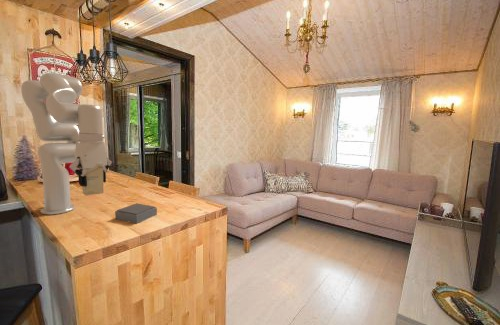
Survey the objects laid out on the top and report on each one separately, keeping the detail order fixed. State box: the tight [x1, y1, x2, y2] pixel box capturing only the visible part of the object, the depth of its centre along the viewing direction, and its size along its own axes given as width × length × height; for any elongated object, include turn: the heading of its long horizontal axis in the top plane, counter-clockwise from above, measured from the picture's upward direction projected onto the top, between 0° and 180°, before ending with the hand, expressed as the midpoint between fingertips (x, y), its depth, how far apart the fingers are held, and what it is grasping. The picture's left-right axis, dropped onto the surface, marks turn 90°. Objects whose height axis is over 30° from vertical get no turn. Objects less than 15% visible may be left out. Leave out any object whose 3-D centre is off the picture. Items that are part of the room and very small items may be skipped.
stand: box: [114, 202, 158, 225], centre depth 108 cm, size 12×12×4 cm
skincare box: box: [81, 163, 105, 196], centre depth 92 cm, size 6×4×12 cm
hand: (93, 183), depth 92 cm, fingers closed on skincare box, 7 cm apart
